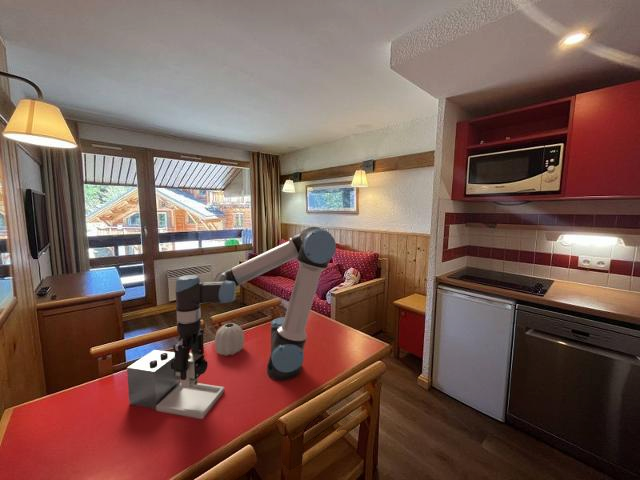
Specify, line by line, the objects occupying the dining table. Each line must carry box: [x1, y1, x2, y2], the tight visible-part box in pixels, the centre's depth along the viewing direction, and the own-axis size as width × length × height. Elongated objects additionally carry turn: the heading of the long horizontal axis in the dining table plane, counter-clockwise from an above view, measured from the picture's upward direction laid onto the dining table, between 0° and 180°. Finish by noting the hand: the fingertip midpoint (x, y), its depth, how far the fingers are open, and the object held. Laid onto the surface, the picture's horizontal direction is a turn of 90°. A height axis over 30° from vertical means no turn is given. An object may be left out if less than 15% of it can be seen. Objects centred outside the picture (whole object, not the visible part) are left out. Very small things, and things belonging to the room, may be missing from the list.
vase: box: [214, 322, 245, 357], centre depth 130 cm, size 14×14×13 cm
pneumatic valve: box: [171, 352, 208, 388], centre depth 95 cm, size 6×12×12 cm, turn 78°
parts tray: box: [155, 382, 225, 420], centre depth 97 cm, size 18×14×2 cm
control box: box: [126, 349, 181, 410], centre depth 98 cm, size 11×12×15 cm
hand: (190, 381), depth 96 cm, fingers closed on pneumatic valve, 5 cm apart
